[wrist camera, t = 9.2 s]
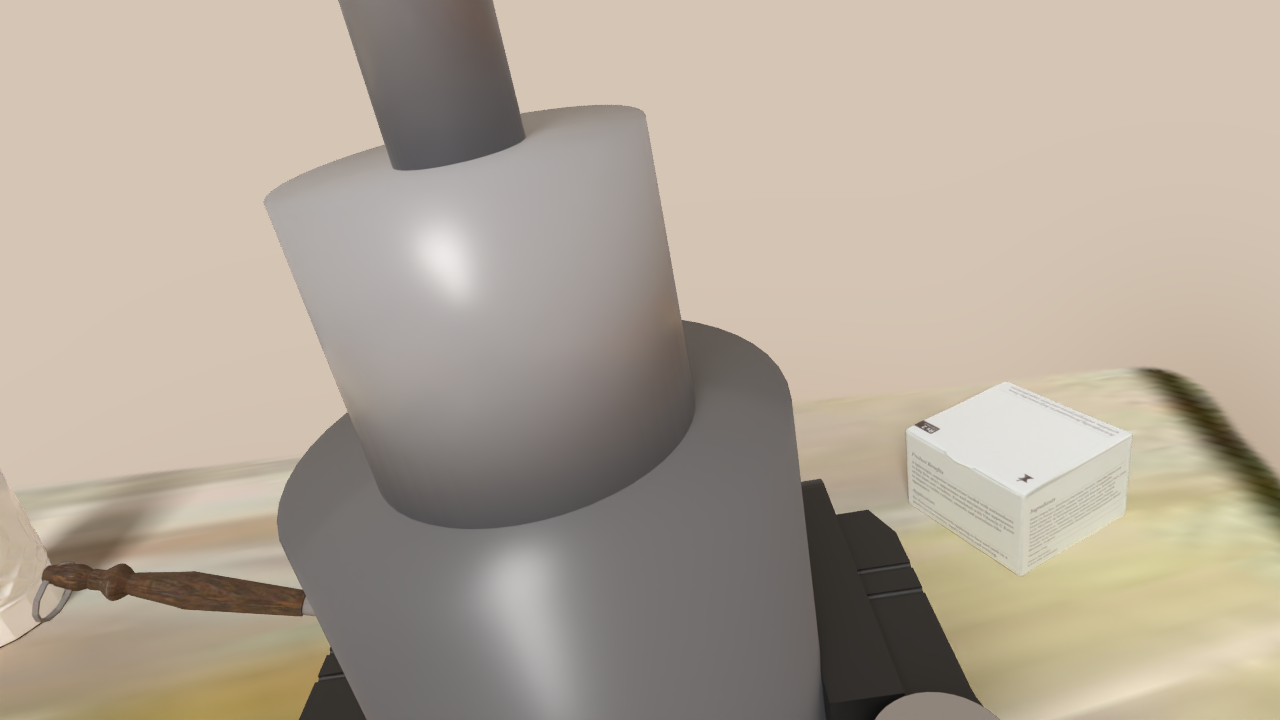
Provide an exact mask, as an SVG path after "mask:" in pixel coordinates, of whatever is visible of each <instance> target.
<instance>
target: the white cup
mask: <svg viewBox="0 0 1280 720" xmlns="http://www.w3.org/2000/svg"><path fill="white" fill-rule="evenodd" d="M49 565H51V563H50V560H49V558H48V557H47V551H46V549H45V547H44V546H43V545H42V543H41V540H40V538H39V536H38V534H37V532H36V531H35V529H34V528H33V526H32V525H31V523H30V520H29V518H28V516H27V514H26V512H25V511H24V509H23V507H22V506H21V504H20V502H19V501H18V499H17V497H16V496H15V494H14V492H13V491H12V489H11V487H10V485H9V484H8V482H7V480H6V479H5V477H4V475H3V473H2V471H1V470H0V647H1V646H3V645H6V644H8V643H10V642H12V641H14V640H16V639H18V638H19V637H21V636H22V635H24V634H25V633H26V632H28V631H29V630H31V629H32V628H34V627H35V626H37V625H38V624H40V622H36V621H35V620H34V618H33V617H32V607H33V600H34V598H35V596H36V594H37V591H38V589H39V587H40V585H41V584H42V573H43V571H44V569H45V568H46V567H47V566H49ZM64 592H65V589H64V588H60V587H56V586H54V585H53V584H48V586H47V587H46V590H45V592H44V594H43V596H42V598H41V600H40V608H39V615H40V616H41V618H44V617H46V616H47V615H49V614H50V613H51V612H52V611H53V610H54V609H55V608H56V607H57V605H58V604H59V602H60V601H61V599H62V596H63V594H64Z"/></svg>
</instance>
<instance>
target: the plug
mask: <svg viewBox="0 0 1280 720" xmlns="http://www.w3.org/2000/svg"><path fill="white" fill-rule="evenodd" d="M338 1H339V3H340V7H341V9H342V13H343V16H344V19H345V22H346V25H347V29H348V31H349V35H350V38H351V41H352V44H353V47H354V50H355V53H356V56H357V60H358V63H359V66H360V69H361V72H362V75H363V78H364V81H365V84H366V87H367V90H368V94H369V96H370V100H371V103H372V106H373V109H374V112H375V115H376V118H377V121H378V125H379V128H380V130H381V134H382V137H383V140H384V143H385V145H382V146H379V147H376V148H372V149H369V150H366V151H363V152H360V153H356V154H353V155H351V156H347V157H345V158H342V159H339V160H336V161H333V162H331V163H328V164H325V165H323V166H320V167H317V168H315V169H313V170H311V171H308V172H306V173H303V174H301V175H299V176H297V177H295V178H293V179H291V180H289V181H287V182H285V183H283V184H282V185H280V186H278V187H277V188H276V189H274V190H273V191H271V192H270V193H269V194H268V195H267V196H266V197H265V200H264V205H265V207H266V210H267V212H268V215H269V217H270V220H271V222H272V225H273V227H274V230H275V232H276V235H277V237H278V240H279V242H280V245H281V247H282V249H283V252H284V255H285V257H286V259H287V262H288V264H289V267H290V269H291V272H292V274H293V277H294V279H295V282H296V284H297V287H298V289H299V292H300V294H301V297H302V299H303V302H304V304H305V307H306V309H307V311H308V314H309V316H310V319H311V322H312V324H313V326H314V329H315V331H316V334H317V336H318V339H319V341H320V344H321V346H322V349H323V351H324V354H325V356H326V359H327V361H328V364H329V366H330V369H331V371H332V374H333V376H334V378H335V381H336V384H337V386H338V389H339V391H340V393H341V396H342V398H343V401H344V403H345V406H346V408H347V411H348V413H346V414H345V415H344V416H343V417H341V418H340V419H339V420H338V421H337V422H336V423H334V424H333V425H332V426H331V427H330V428H329V429H327V430H326V431H325V433H324V434H323V435H322V436H321V437H320V438H319V439H318V440H317V441H316V442H315V443H314V444H313V445H312V446H311V447H310V448H309V450H308V451H307V452H306V453H305V455H304V456H303V457H302V459H301V460H300V461H299V463H298V464H297V465H296V467H295V469H294V471H293V472H292V474H291V476H290V478H289V479H288V481H287V483H286V485H285V488H284V491H283V494H282V496H281V499H280V502H279V509H278V517H277V525H278V533H279V540H280V542H281V544H282V547H283V549H284V551H285V553H286V556H287V558H288V560H289V562H290V564H291V566H292V568H293V570H294V572H295V574H296V576H297V578H298V580H299V582H300V584H301V586H302V588H303V591H304V593H305V595H306V597H307V599H308V601H309V603H310V605H311V607H312V609H313V611H314V613H315V615H316V617H317V619H318V621H319V623H320V625H321V627H322V629H323V631H324V634H325V636H326V638H327V640H328V642H329V644H330V646H331V648H332V650H333V652H334V654H335V656H336V658H337V660H338V662H339V664H340V666H341V668H342V670H343V672H344V674H345V676H346V679H347V681H348V683H349V685H350V687H351V689H352V691H353V693H354V695H355V697H356V699H357V701H358V703H359V705H360V707H361V709H362V711H363V713H364V715H365V717H366V719H367V720H826V714H825V705H824V696H823V688H822V679H821V670H820V647H819V638H818V629H817V620H816V611H815V603H814V594H813V585H812V576H811V567H810V558H809V550H808V541H807V532H806V523H805V514H804V505H803V496H802V488H801V479H800V470H799V461H798V452H797V443H796V434H795V426H794V417H793V408H792V399H791V395H790V391H789V388H788V383H787V381H786V379H785V377H784V375H783V374H782V372H781V370H780V369H779V367H778V366H777V365H776V363H775V362H774V361H773V360H772V359H771V358H770V357H769V356H768V355H767V354H766V353H765V352H763V351H762V350H761V349H759V348H758V347H757V346H755V345H754V344H752V343H751V342H749V341H747V340H745V339H743V338H741V337H739V336H737V335H735V334H732V333H730V332H727V331H724V330H722V329H719V328H715V327H712V326H708V325H704V324H700V323H696V322H690V321H684V320H681V315H680V310H679V304H678V298H677V292H676V287H675V281H674V275H673V269H672V264H671V258H670V252H669V247H668V241H667V236H666V230H665V224H664V218H663V212H662V207H661V201H660V196H659V190H658V184H657V178H656V173H655V167H654V162H653V155H652V150H651V144H650V138H649V132H648V127H647V122H646V115H645V113H644V112H643V111H642V110H640V109H637V108H634V107H630V106H622V105H592V106H577V107H566V108H557V109H549V110H542V111H534V112H528V113H522V114H520V112H519V107H518V103H517V99H516V95H515V91H514V87H513V83H512V78H511V74H510V70H509V66H508V62H507V58H506V54H505V50H504V46H503V42H502V37H501V33H500V29H499V25H498V21H497V17H496V13H495V9H494V4H493V0H338Z"/></svg>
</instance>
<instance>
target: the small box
mask: <svg viewBox="0 0 1280 720" xmlns="http://www.w3.org/2000/svg"><path fill="white" fill-rule="evenodd" d="M905 435H906V453H907V476H908V500H909V504H911V505H912V506H914V507H915V508H917V509H918V510H920V511H921V512H923V513H925V514H926V515H928V516H929V517H931V518H932V519H934V520H935V521H937V522H938V523H940V524H941V525H943V526H944V527H946V528H947V529H949V530H950V531H952V532H953V533H955V534H956V535H958V536H959V537H961V538H962V539H964V540H965V541H967V542H968V543H970V544H971V545H973V546H974V547H976V548H977V549H979V550H981V551H982V552H984V553H985V554H987V555H988V556H990V557H991V558H993V559H994V560H996V561H997V562H999V563H1000V564H1002V565H1003V566H1005V567H1006V568H1008V569H1009V570H1011V571H1012V572H1014V573H1015V574H1017V575H1018V576H1024V575H1025V574H1026V573H1028V572H1029V571H1031V570H1033V569H1034V568H1036V567H1037V566H1039V565H1041V564H1042V563H1044V562H1046V561H1048V560H1049V559H1051V558H1053V557H1054V556H1056V555H1058V554H1060V553H1061V552H1063V551H1065V550H1066V549H1068V548H1070V547H1071V546H1073V545H1075V544H1076V543H1078V542H1080V541H1082V540H1083V539H1085V538H1087V537H1088V536H1090V535H1092V534H1094V533H1095V532H1097V531H1099V530H1100V529H1102V528H1104V527H1105V526H1107V525H1109V524H1110V523H1112V522H1113V521H1115V520H1117V519H1119V518H1121V517H1122V516H1124V515H1125V512H1126V501H1127V488H1128V478H1129V467H1130V457H1131V447H1132V437H1133V434H1132V433H1130V432H1128V431H1125V430H1123V429H1120V428H1117V427H1115V426H1112V425H1110V424H1108V423H1105V422H1103V421H1100V420H1098V419H1095V418H1093V417H1090V416H1088V415H1086V414H1083V413H1081V412H1078V411H1076V410H1074V409H1071V408H1069V407H1067V406H1064V405H1062V404H1059V403H1057V402H1055V401H1052V400H1050V399H1047V398H1045V397H1043V396H1040V395H1038V394H1036V393H1033V392H1031V391H1029V390H1026V389H1024V388H1022V387H1019V386H1017V385H1015V384H1012V383H1010V382H1008V381H1005V382H1003V383H1001V384H998V385H996V386H994V387H992V388H989V389H987V390H985V391H983V392H981V393H979V394H977V395H975V396H973V397H971V398H969V399H967V400H965V401H963V402H961V403H959V404H957V405H955V406H953V407H951V408H949V409H946V410H944V411H942V412H940V413H938V414H936V415H934V416H931V417H929V418H927V419H925V420H923V421H921V422H919V423H917V424H915V425H913V426H911V427H909V428H907V429H906V431H905Z"/></svg>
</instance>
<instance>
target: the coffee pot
mask: <svg viewBox="0 0 1280 720" xmlns="http://www.w3.org/2000/svg"><path fill="white" fill-rule="evenodd" d="M48 584H53V585H54V586H56V587H60V588H64V589H66V591H65V594H64V596H63V597H62V599H61V601H60V602H59V604H58V605H57V607H56V608H55V610H53V611H52V612H51V613H50V614H49V615H47V616H46V617H44V618H41V616H40V615H39V608H40V600H41V598H42V596H43V594H44V592H45V590H46V587H47V586H48ZM87 588H88V589H90V590H99V591H101V592H102V594H103V595H104V596H105V597H106V598H107V599H108V600H110V601H115V600H118V599H121V598H123V597H125V596H126V595H128V594H129V595H131V596H135V597H139V598H143V599H147V600H151V601H155V602H159V603H163V604H167V605H171V606H174V607H178V608H181V609H187V610H204V611H221V612H237V613H254V614H271V615H287V616H303V615H311V616H316V615H315V613H314V611H313V609H312V607H311V605H310V603H309V601H308V599H307V597H306V595H305V593H304V591H303V590H300V589H294V588H288V587H282V586H277V585H271V584H265V583H259V582H253V581H247V580H241V579H235V578H230V577H224V576H218V575H212V574H206V573H200V572H149V573H135V572H134V571H133V570H132V569H131V567H129V566H128V565H126V564H118V565H116V566H114V567H112V568H110V569H108V570H100V569H94V570H93V569H92V568H90V567H89V566H87V565H84V564H75V563H74V562H71V561H67V562H62V563H60V564H58V565H49V566H47V567H46V568H45V569H44V571H43V573H42V584H41V585H40V587H39V589H38V591H37V594H36V596H35V598H34V600H33V607H32V617H33V618H34V620H35V621H36V622H40V623H42V622H46V621H50V620H51V619H52V618H54V617H55V616H56V615H57V614H58V613H60V612H61V610H62V608H63V607H64V605H65V604H66V602H67V601H68V599H69V597H70V595H71V593H72V591H80V590H83V589H87Z"/></svg>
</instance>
